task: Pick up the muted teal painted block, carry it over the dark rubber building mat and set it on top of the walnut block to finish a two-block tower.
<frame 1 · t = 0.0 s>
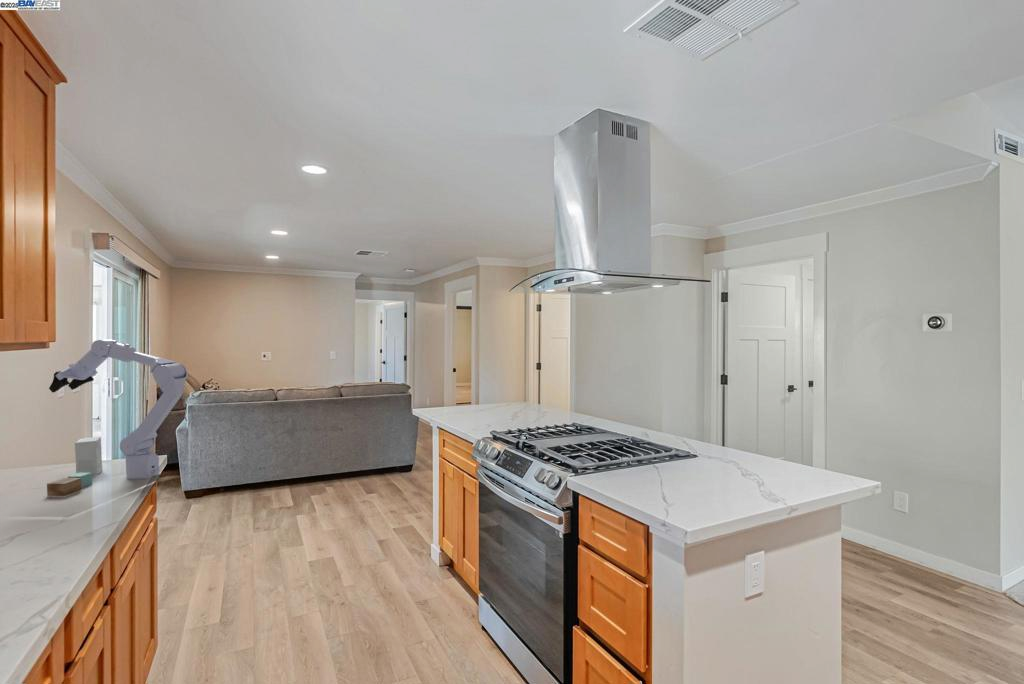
hand: (61, 388, 188), 32 cm above the counter, tool tilted 50°, fingers open, 7 cm apart
teal block: (80, 487, 178), on the counter
mat: (64, 495, 169), on the counter
walnut block: (64, 492, 169), point 1 cm above the counter, touching mat
small box: (89, 474, 193), on the counter
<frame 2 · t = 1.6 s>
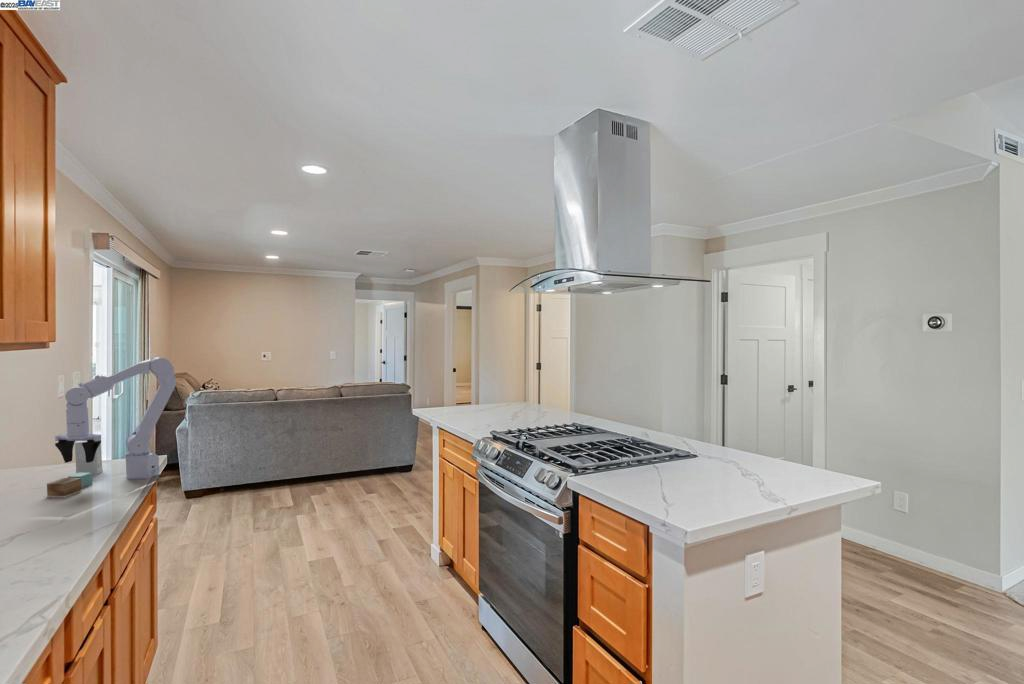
hand: (79, 461, 177), 9 cm above the counter, tool pointing down, fingers open, 7 cm apart
nothing on the counter moved.
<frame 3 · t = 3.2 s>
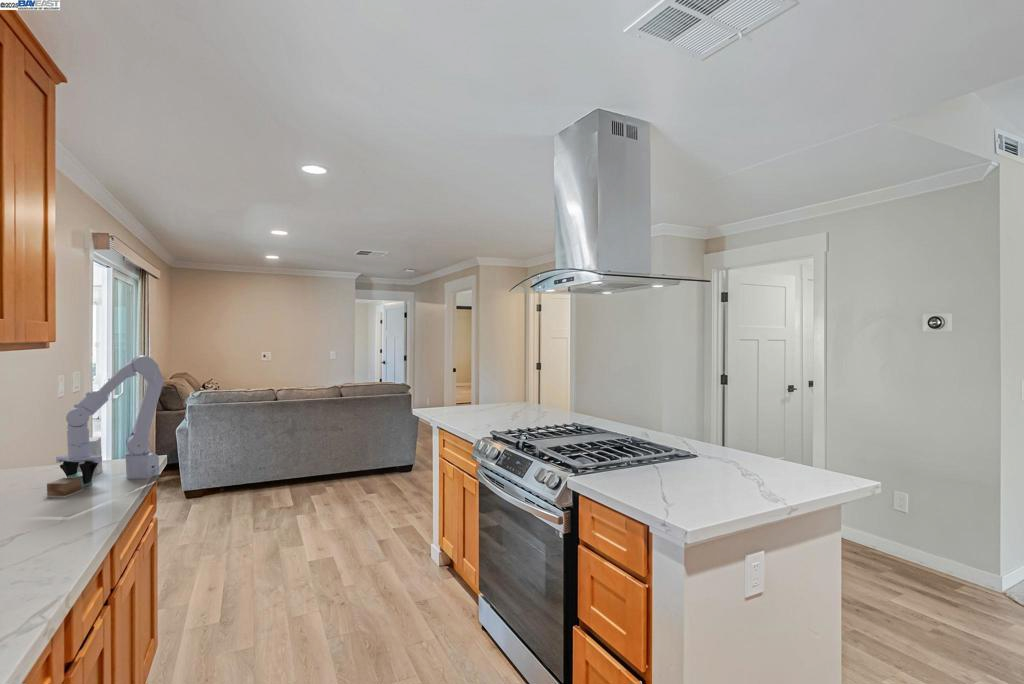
hand: (80, 483, 177), 1 cm above the counter, tool pointing down, fingers closed on teal block, 4 cm apart
teal block: (80, 487, 178), on the counter, touching gripper
everything else where it was.
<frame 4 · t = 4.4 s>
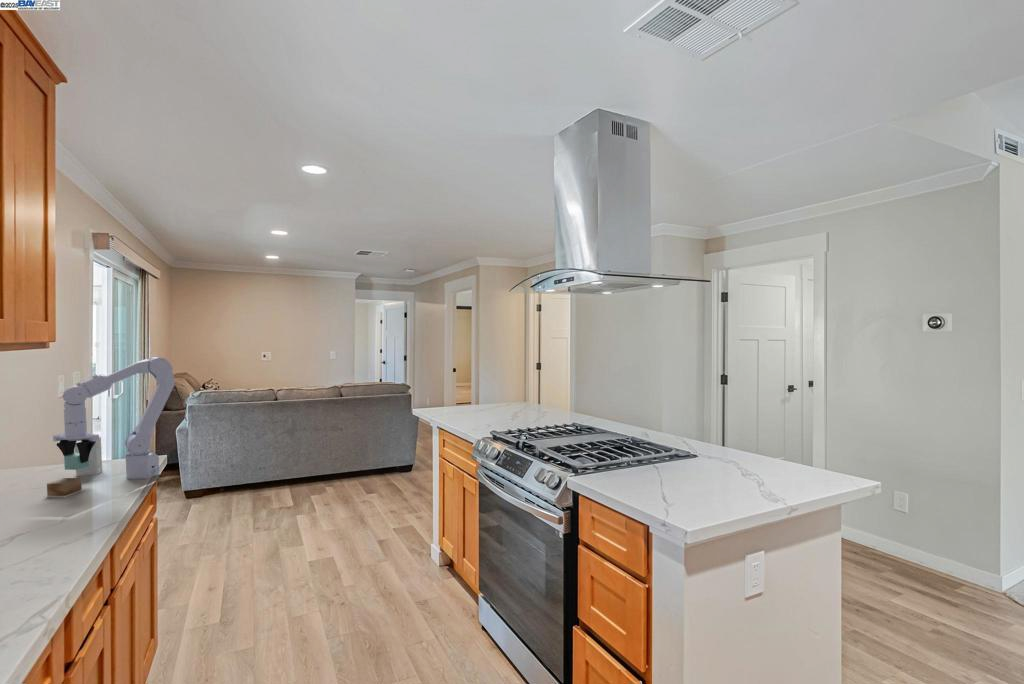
hand: (77, 462, 176), 9 cm above the counter, tool pointing down, fingers closed on teal block, 4 cm apart
teal block: (77, 467, 176), point 7 cm above the counter, touching gripper
everything else where it was.
when the fingers open (7 cm above the counter, at t = 6.0 s): teal block stays where it is, resting on walnut block.
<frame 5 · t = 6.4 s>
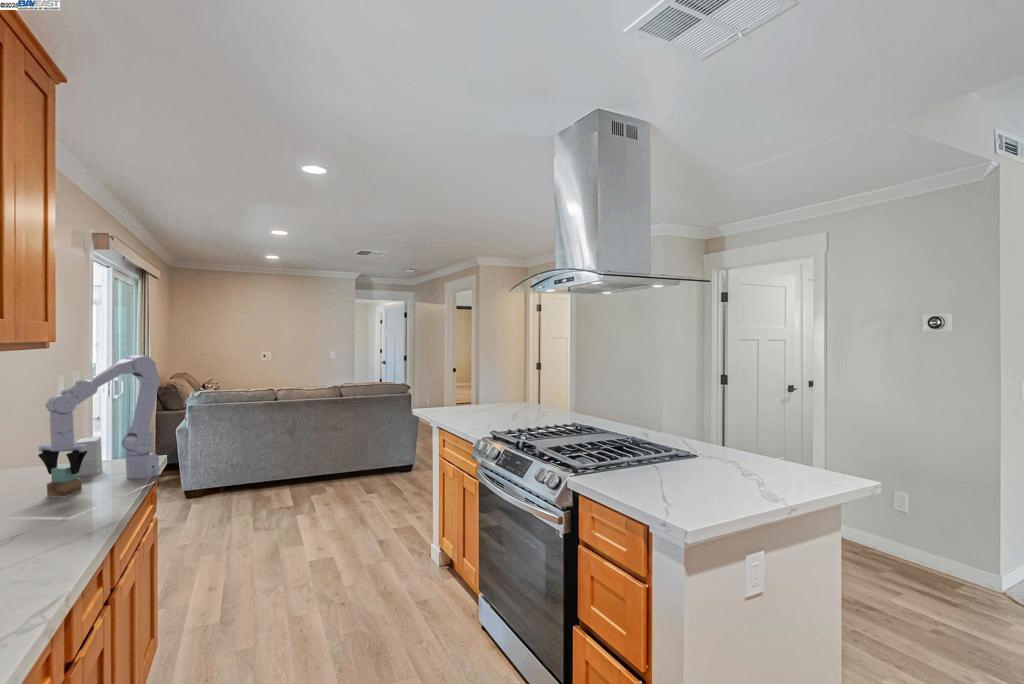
hand: (63, 473, 169), 7 cm above the counter, tool pointing down, fingers open, 7 cm apart
teal block: (64, 480, 169), point 5 cm above the counter, touching walnut block
walnut block: (64, 492, 169), point 1 cm above the counter, touching mat, teal block
everything else where it was.
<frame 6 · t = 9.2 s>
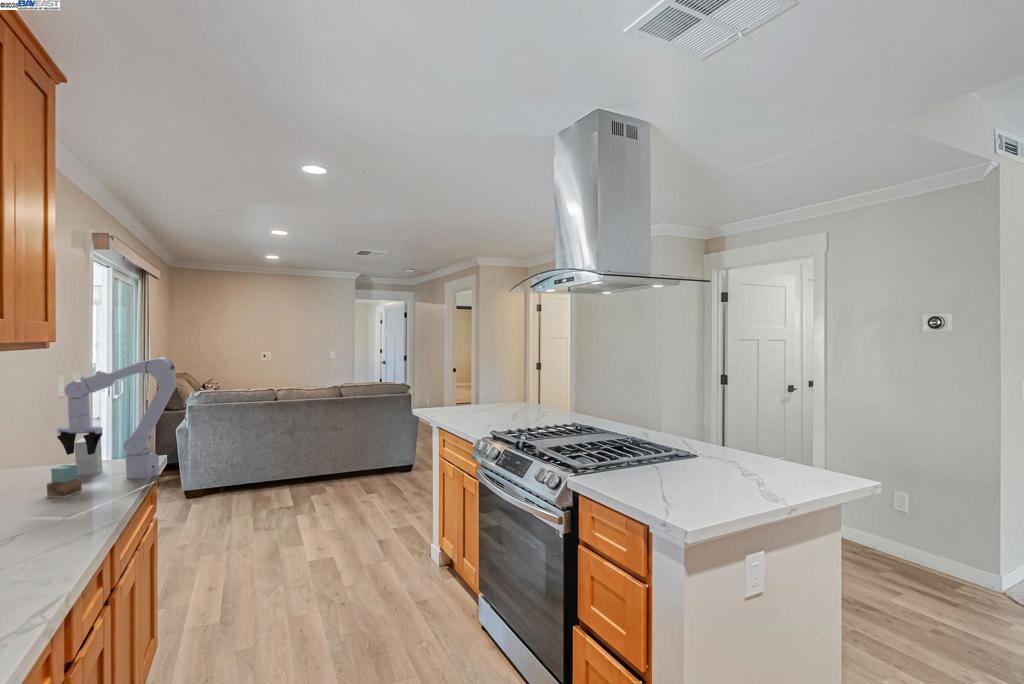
hand: (80, 453, 181), 10 cm above the counter, tool pointing down, fingers open, 7 cm apart
nothing on the counter moved.
at the end: teal block 0.2 cm off-centre on the walnut block, point 4.0 cm above the walnut block's base; teal block tilted 0°; the gripper is holding nothing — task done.
